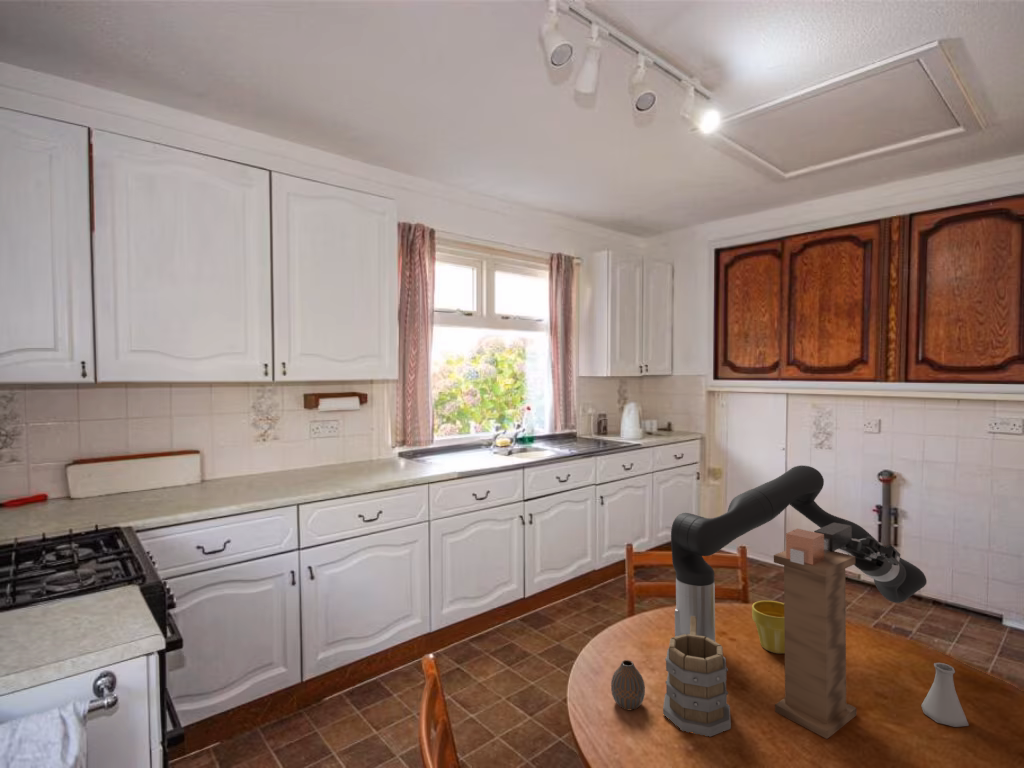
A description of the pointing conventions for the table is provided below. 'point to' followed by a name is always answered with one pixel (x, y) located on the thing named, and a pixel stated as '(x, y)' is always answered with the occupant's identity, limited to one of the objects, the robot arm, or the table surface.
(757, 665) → the table surface
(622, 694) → the vase
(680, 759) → the table surface
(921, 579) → the robot arm
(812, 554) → the orange and black bar
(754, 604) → the plant pot
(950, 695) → the flask
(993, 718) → the table surface
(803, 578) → the walnut stand
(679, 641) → the tankard
